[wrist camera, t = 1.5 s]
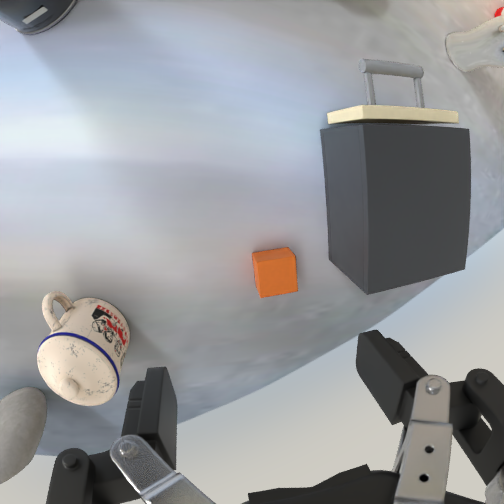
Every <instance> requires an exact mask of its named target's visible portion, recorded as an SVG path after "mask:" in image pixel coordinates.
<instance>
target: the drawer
mask: <svg viewBox="0 0 504 504" xmlns="http://www.w3.org/2000/svg"><path fill="white" fill-rule="evenodd" d="M359 70H360V71H361V72H362V73H364V79H365V87H366V94H367V103H368V105H359V106H355V107H350V108H346V109H342V110H337V111H333V112H329V113H327V117H328V124H345V123H398V124H437V123H459V120H458V112H456V111H448V110H439V109H428V108H424V99H423V91H422V84H421V78H422V77H423V74H424V72H423V68H422V67H421V66H417V65H411V64H404V63H397V62H389V61H380V60H370V59H361V60H360V61H359ZM372 74H384V75H394V76H403V77H411V78H414V85H415V93H416V101H417V108H416V107H402V106H381V105H376V103H375V94H374V87H373V80H372Z"/></svg>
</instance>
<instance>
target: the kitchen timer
mask: <svg viewBox="0 0 504 504" xmlns="http://www.w3.org/2000/svg"><path fill="white" fill-rule="evenodd" d="M501 15H504V7H501V8H499V9H497V11H496V13H495V17H498V16H501ZM495 17H494V18H495Z"/></svg>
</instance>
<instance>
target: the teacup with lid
mask: <svg viewBox="0 0 504 504" xmlns="http://www.w3.org/2000/svg"><path fill="white" fill-rule="evenodd" d="M53 300H56V301H58V302H59V303H60V304H61V305H62V306H63V308H64V309H65V311H66V312H65V313H64V315H63V316H62V317H61V319H60V320H59V321H58V319H57V317H56V316H55V314H54V311H53V307H52V302H53ZM42 310H43V314H44V317H45V319H46V321H47V323H48V325H49V326H50V328H51V329H52V332H51V333H50V335H49V336H47V337H46V338H45V339H44V340H43V341H42V342H41V344H40V346H39V348H38V354H37V363H38V368H39V371H40V373H41V375H42V377H43V379H44V381H45V382H46V383H47V385H48V386H49V387H50V388H51V389H52V390H53V391H54V392H55V393H57V394H58V395H59V396H61V397H62V398H64V399H66V400H68V401H70V402H72V403H75V404H79V405H84V406H96V405H100V404H103V403H105V402H107V401H109V400H110V399H111V398H112V397H113V396H114V395H115V393H116V392H117V390H118V387H119V375H120V371H121V368H122V364H123V361H124V358H125V354H126V351H127V348H128V345H129V341H130V331H129V327H128V324H127V322H126V320H125V318H124V317H123V315H122V314H121V313H120V312H119V311H118V310H117V309H116V308H115V307H114V306H112V305H111V304H109V303H107V302H105V301H103V300H100V299H96V298H83V299H80V300H77V301H75V302H74V303H72V302H71V300H70V299H69V298H68V297H67V296H66V295H65V294H64V293H62V292H59V291H54V292H51V293H49V294H47V295H46V296H45V297H44V299H43V302H42Z"/></svg>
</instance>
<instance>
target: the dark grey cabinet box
mask: <svg viewBox="0 0 504 504" xmlns="http://www.w3.org/2000/svg"><path fill="white" fill-rule="evenodd" d="M320 132H321V142H322V153H323V164H324V176H325V190H326V204H327V222H328V243H329V260H330V261H331V262H332V263H333V264H335V265H336V266H337V267H338V268H339V269H340V270H341V271H342V272H343V273H344V274H345V275H346V276H348V277H349V278H350V279H351V280H352V281H353V282H354V283H355V284H356V285H357V286H358V287H359V288H360V289H362V290H363V291H364V292H365V293H366V294H367V295H368V294H373V293H377V292H381V291H385V290H389V289H393V288H397V287H401V286H405V285H409V284H413V283H417V282H421V281H424V280H428V279H432V278H436V277H439V276H443V275H446V274H450V273H454V272H457V271H460V270H464V269H465V263H466V255H467V245H468V234H469V220H470V199H471V156H470V135H469V129H465V128H453V127H438V126H420V125H353V126H344V127H335V128H327V129H320Z"/></svg>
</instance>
